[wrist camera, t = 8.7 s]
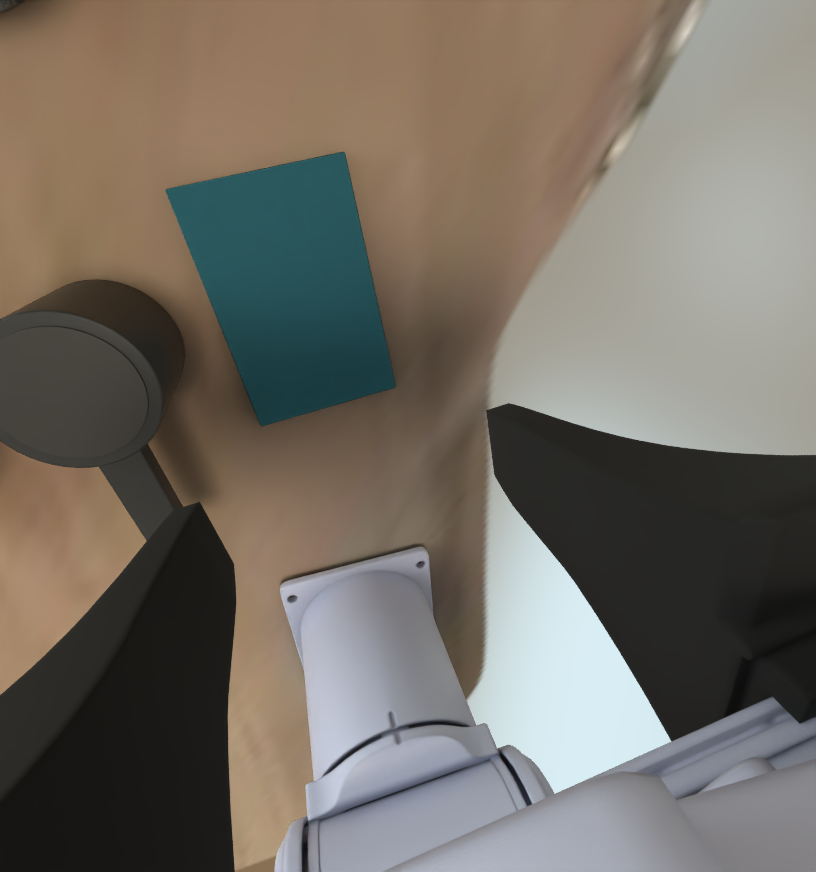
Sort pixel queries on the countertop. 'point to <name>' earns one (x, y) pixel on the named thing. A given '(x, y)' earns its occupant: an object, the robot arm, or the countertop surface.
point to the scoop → (93, 387)
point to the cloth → (289, 283)
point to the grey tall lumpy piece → (8, 4)
